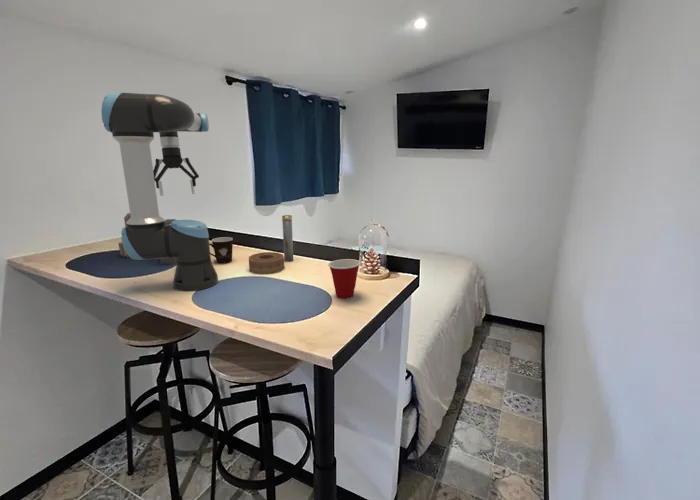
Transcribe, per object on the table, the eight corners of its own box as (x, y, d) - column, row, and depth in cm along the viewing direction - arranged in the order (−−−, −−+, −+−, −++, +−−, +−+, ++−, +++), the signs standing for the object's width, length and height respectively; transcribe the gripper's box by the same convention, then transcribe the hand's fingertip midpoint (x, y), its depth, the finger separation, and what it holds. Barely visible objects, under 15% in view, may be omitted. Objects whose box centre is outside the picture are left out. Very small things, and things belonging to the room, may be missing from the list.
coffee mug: (237, 258, 164) (235, 237, 161) (229, 264, 156) (227, 242, 153) (212, 258, 165) (210, 236, 162) (203, 263, 157) (201, 241, 154)
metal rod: (294, 261, 161) (292, 216, 155) (284, 262, 160) (282, 217, 154) (293, 258, 165) (291, 214, 159) (283, 259, 164) (281, 215, 158)
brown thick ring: (285, 272, 147) (285, 260, 145) (249, 275, 143) (248, 263, 142) (282, 262, 160) (281, 251, 158) (249, 264, 156) (248, 253, 155)
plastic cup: (342, 287, 131) (342, 255, 128) (366, 294, 125) (367, 261, 122) (321, 296, 123) (321, 262, 120) (346, 304, 117) (346, 269, 113)
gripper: (201, 146, 171) (207, 192, 176) (142, 148, 166) (150, 195, 170) (198, 145, 164) (205, 193, 169) (137, 147, 158) (146, 196, 163)
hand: (177, 194), depth 169 cm, fingers open, 13 cm apart
